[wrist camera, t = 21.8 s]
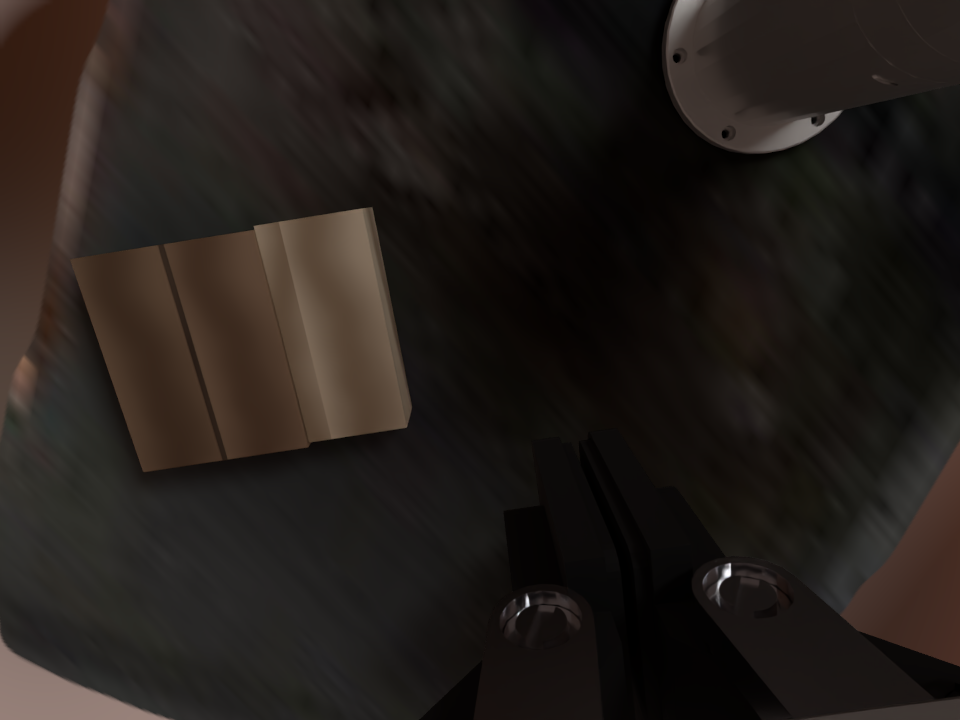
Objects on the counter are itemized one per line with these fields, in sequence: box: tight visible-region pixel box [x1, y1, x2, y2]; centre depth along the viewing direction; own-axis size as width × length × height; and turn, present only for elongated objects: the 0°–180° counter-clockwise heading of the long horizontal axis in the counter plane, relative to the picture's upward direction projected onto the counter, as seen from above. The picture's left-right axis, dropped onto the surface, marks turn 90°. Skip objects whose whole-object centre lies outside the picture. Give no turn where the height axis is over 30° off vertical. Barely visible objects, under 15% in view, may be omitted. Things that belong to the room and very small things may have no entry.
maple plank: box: [254, 207, 412, 443], centre depth 38 cm, size 6×14×4 cm, turn 9°
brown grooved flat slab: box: [70, 230, 311, 472], centre depth 38 cm, size 12×14×4 cm
